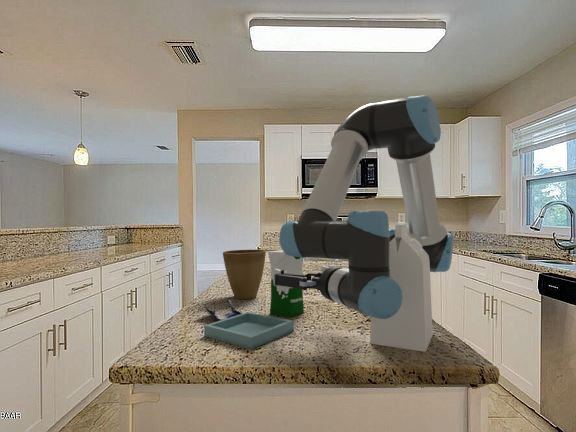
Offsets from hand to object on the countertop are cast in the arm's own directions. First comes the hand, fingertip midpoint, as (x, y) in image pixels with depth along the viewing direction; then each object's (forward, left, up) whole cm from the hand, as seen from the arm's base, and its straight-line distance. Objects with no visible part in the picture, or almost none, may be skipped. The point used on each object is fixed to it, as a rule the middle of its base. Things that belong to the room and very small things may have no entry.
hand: (299, 272), depth 99 cm
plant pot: (+33, -14, -13) cm, 39 cm away
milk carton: (+8, -5, -13) cm, 17 cm away
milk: (-27, -2, -13) cm, 30 cm away
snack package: (+19, +9, -14) cm, 25 cm away
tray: (+4, +15, -13) cm, 20 cm away
